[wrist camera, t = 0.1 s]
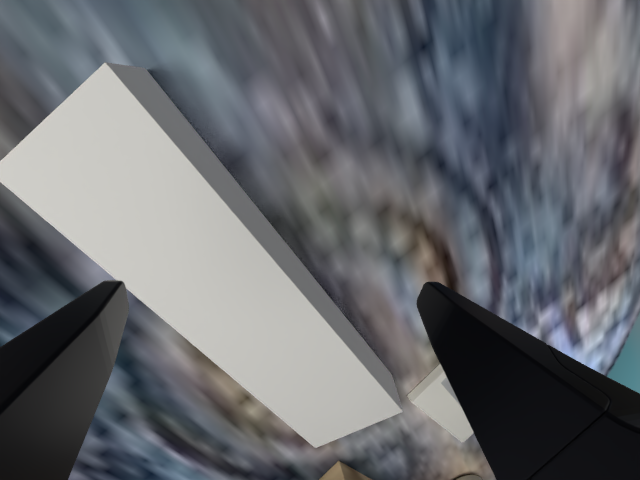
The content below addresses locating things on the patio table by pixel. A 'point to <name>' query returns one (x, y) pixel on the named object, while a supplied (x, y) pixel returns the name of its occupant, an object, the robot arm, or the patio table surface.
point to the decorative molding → (197, 251)
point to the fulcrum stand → (441, 404)
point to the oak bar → (343, 473)
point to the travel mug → (469, 477)
